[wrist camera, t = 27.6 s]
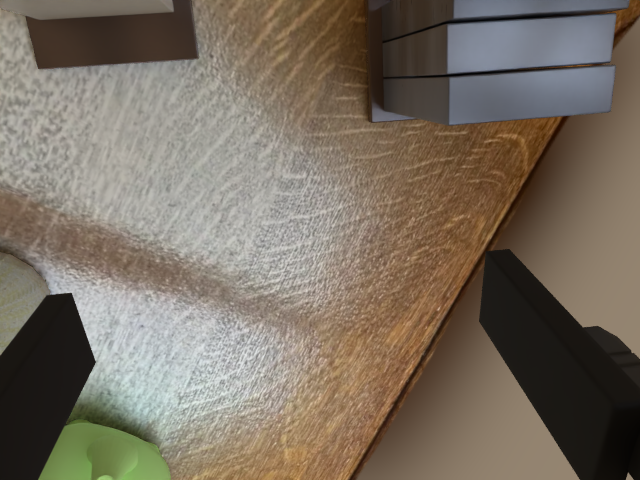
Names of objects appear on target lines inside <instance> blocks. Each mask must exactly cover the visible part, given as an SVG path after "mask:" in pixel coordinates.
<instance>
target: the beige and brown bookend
mask: <svg viewBox="0 0 640 480" xmlns="http://www.w3.org/2000/svg"><path fill="white" fill-rule="evenodd" d="M172 2H173V8H174V12H167V13H150V14H133V15H116V16H98V17H81V18H64V19H47V20H38V19H35V18H32V17H28V16H26V20H27V24H28V28H29V33H30V37H31V41H32V45H33V50H34V54H35V58H36V62H37V66H38V69H57V68H72V67H87V66H103V65H118V64H133V63H148V62H163V61H178V60H193V59H199V52H198V45H197V38H196V30H195V23H194V16H193V8H192V1H191V0H172Z"/></svg>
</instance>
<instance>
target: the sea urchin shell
mask: <svg viewBox="0 0 640 480" xmlns="http://www.w3.org/2000/svg"><path fill="white" fill-rule="evenodd" d="M46 295H50V289H49V288H48V285H47V283H46V280H44V279H43V278H42V277H41V276H40V275H39V274H38V273H37V272H36V271H35V270H34V269H33V267H32V266H29V265H28V264H26V263H24V262H22V261H21V260H19V259H18V258H15V257H14V256H13V255H11V254H5V253H2V252H0V355H1V354H2V353H3V351H4V350H5V349H6V347H7V346H8V345H9V343H10V342H11V341H12V339H13V338H14V337H15V336H16V334H17V333H18V332H19V330H20V329H21V328H22V326H23V325H24V324H25V323H26V321H27V320H28V319H29V317H30V316H31V315H32V313H33V312H34V311H35V310H36V308H37V307H38V306H39V304H40V303H41V302H42V300H43V299H44V298H45V297H46Z"/></svg>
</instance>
